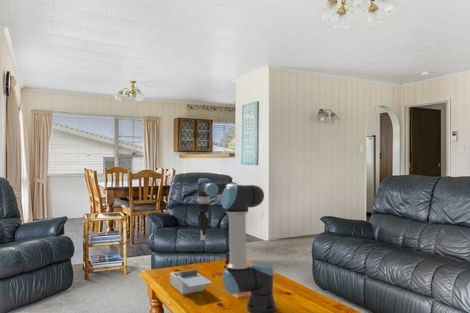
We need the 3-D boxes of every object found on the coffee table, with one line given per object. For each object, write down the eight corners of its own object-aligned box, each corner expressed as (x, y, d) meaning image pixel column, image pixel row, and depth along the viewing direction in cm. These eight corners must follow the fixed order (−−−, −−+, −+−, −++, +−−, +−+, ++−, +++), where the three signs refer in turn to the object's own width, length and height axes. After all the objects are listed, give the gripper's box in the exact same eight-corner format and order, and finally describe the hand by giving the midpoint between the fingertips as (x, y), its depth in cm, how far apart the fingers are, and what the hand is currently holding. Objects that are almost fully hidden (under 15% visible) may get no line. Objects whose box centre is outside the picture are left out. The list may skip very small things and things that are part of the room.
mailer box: (204, 290, 214) (204, 278, 214) (182, 295, 206) (182, 282, 206) (190, 280, 231) (190, 269, 231) (169, 284, 224) (170, 273, 224)
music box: (231, 285, 223) (229, 252, 224) (218, 283, 230) (216, 251, 231) (246, 279, 235) (244, 248, 236) (232, 277, 242) (231, 246, 243)
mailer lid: (212, 283, 205) (212, 277, 205) (189, 287, 198) (190, 281, 198) (197, 273, 222) (197, 267, 222) (176, 277, 215) (176, 271, 215)
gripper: (193, 202, 234) (193, 238, 234) (202, 204, 223) (202, 242, 223) (204, 201, 238) (203, 237, 238) (213, 203, 227) (212, 241, 227)
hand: (203, 239), depth 230 cm, fingers closed
